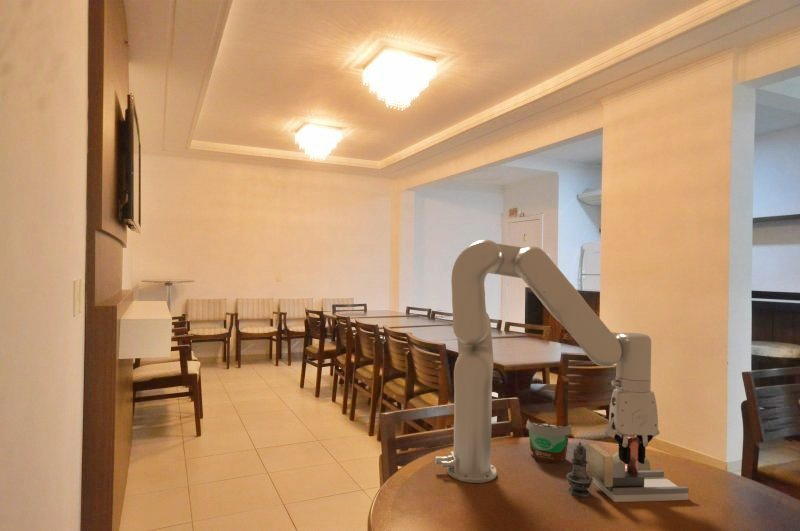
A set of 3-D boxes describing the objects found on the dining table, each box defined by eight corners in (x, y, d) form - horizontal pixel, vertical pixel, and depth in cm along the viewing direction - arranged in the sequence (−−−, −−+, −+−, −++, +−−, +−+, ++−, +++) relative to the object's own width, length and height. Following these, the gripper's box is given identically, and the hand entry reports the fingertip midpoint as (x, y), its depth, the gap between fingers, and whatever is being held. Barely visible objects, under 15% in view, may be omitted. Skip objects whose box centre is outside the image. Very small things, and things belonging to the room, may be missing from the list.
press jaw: (604, 492, 111) (605, 444, 111) (587, 477, 119) (588, 432, 119) (647, 491, 112) (648, 443, 112) (627, 476, 120) (628, 431, 120)
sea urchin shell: (660, 470, 124) (638, 448, 124) (638, 492, 124) (616, 469, 124) (643, 456, 133) (622, 435, 133) (622, 476, 133) (601, 455, 133)
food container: (522, 460, 133) (523, 424, 133) (525, 453, 139) (526, 418, 139) (570, 468, 129) (570, 431, 129) (571, 460, 134) (571, 424, 134)
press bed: (614, 501, 111) (614, 490, 111) (592, 482, 120) (593, 471, 120) (688, 499, 112) (688, 488, 112) (661, 480, 122) (661, 470, 122)
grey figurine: (591, 489, 117) (592, 439, 117) (593, 500, 111) (593, 447, 111) (566, 485, 119) (566, 436, 119) (565, 495, 113) (566, 444, 113)
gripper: (608, 389, 112) (607, 468, 112) (675, 388, 113) (674, 467, 113) (592, 381, 119) (591, 456, 119) (655, 381, 121) (654, 455, 121)
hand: (631, 460), depth 116 cm, fingers open, 3 cm apart
